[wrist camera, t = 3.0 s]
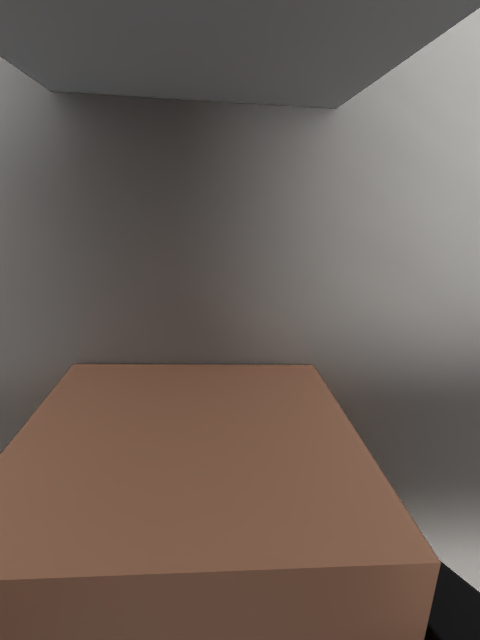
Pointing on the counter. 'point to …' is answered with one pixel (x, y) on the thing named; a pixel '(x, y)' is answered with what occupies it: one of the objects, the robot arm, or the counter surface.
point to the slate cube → (220, 46)
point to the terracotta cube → (203, 513)
